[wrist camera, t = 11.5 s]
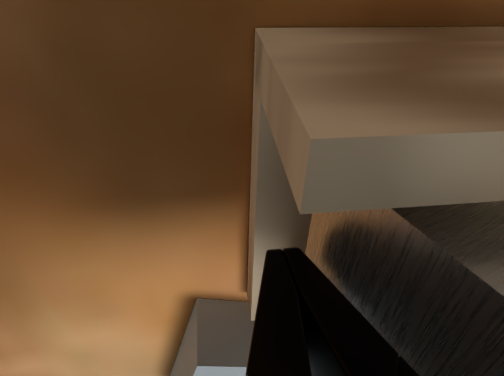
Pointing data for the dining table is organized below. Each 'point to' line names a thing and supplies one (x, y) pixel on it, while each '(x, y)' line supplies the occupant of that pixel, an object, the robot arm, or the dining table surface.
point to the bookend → (422, 280)
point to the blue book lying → (215, 340)
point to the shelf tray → (370, 126)
